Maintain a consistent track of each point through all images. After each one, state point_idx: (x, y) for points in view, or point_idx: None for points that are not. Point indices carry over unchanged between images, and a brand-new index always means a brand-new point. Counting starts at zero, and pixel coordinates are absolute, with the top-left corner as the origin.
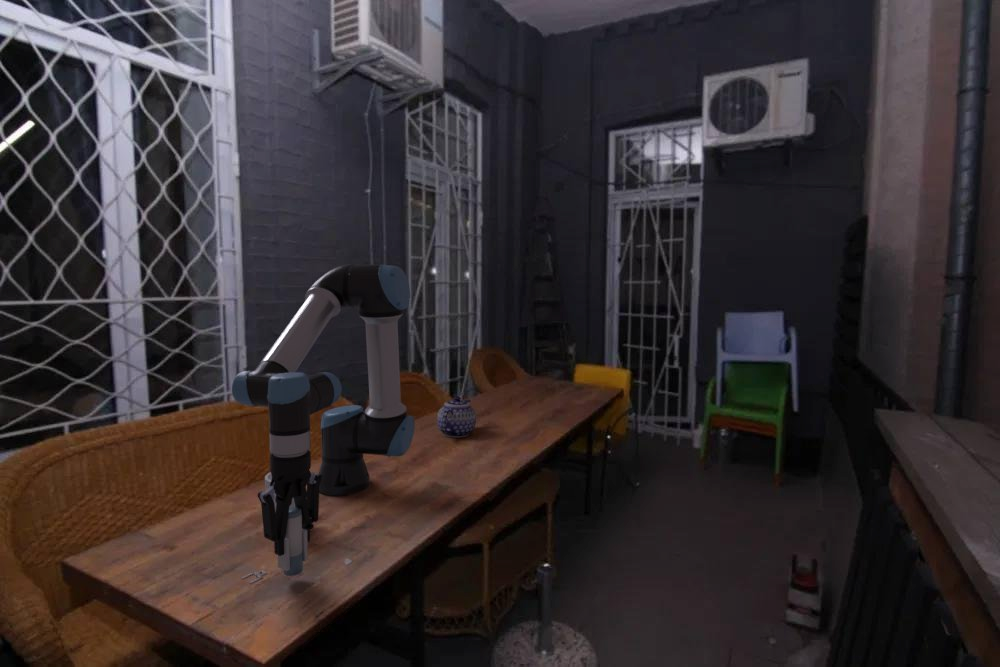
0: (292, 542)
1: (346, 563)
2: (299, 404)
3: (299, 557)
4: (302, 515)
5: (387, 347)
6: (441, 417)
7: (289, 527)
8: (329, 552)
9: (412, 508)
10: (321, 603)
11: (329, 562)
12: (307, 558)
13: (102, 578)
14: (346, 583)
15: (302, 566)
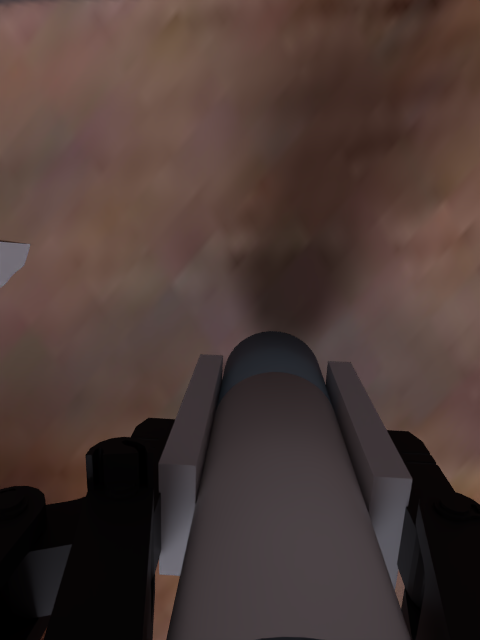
0: (330, 441)
1: (19, 253)
2: None
3: (272, 363)
4: (144, 638)
5: None
6: None
7: (383, 568)
8: (9, 402)
9: None
10: (341, 75)
11: (67, 334)
12: (202, 357)
13: None
14: (142, 103)
15: (242, 347)
